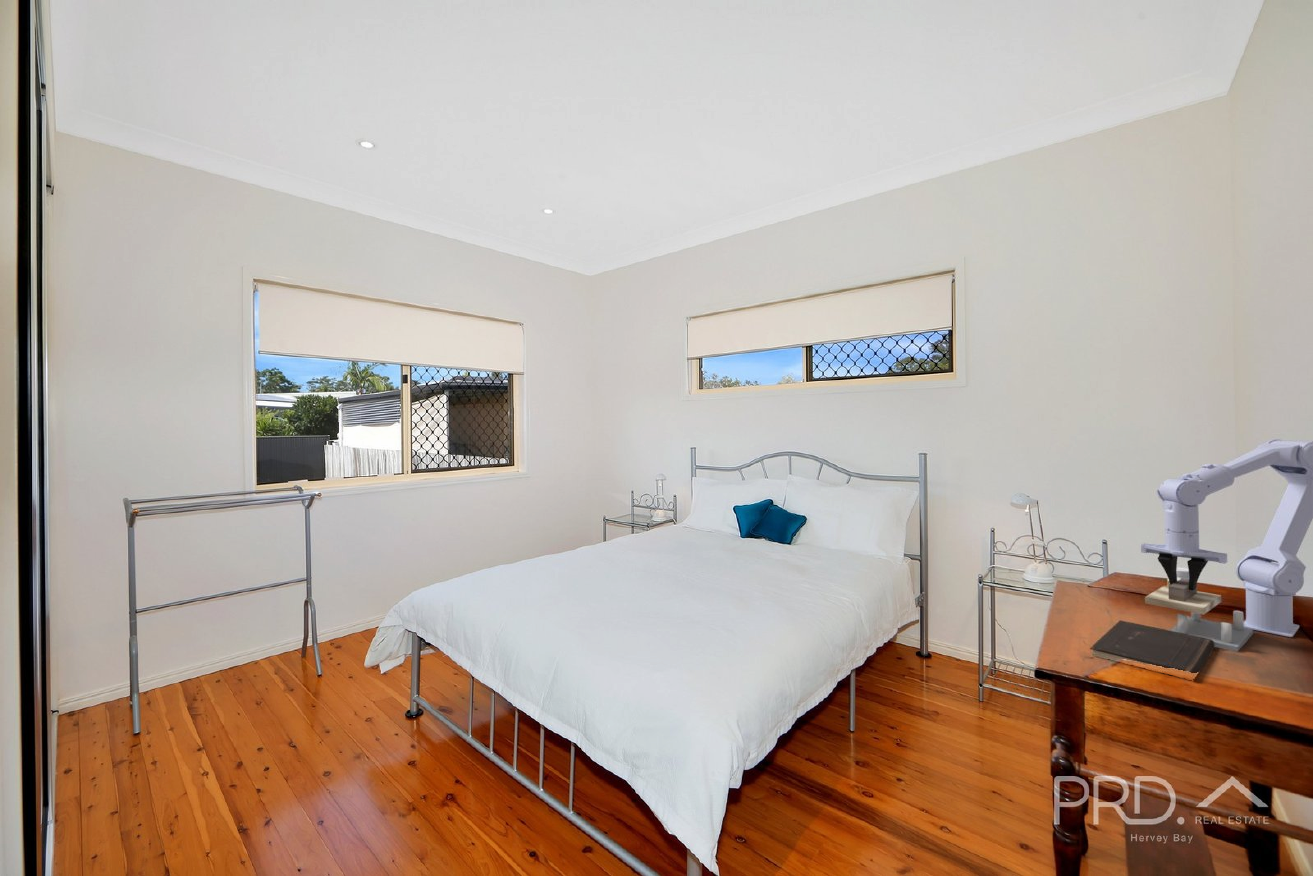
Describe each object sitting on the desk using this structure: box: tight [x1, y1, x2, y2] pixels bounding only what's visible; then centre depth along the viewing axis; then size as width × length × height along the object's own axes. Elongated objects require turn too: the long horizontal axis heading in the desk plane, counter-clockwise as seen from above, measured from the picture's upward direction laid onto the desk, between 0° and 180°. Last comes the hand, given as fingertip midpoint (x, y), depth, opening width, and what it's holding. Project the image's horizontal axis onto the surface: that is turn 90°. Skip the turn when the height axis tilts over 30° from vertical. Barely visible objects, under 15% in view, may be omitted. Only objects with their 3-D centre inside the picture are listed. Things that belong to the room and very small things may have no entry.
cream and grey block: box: [1144, 578, 1222, 616], centre depth 128 cm, size 14×10×4 cm
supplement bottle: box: [1166, 566, 1189, 586], centre depth 142 cm, size 5×5×10 cm
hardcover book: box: [1089, 620, 1215, 673], centre depth 117 cm, size 16×23×2 cm
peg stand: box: [1169, 610, 1254, 652], centre depth 124 cm, size 15×11×5 cm
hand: (1183, 587), depth 128 cm, fingers open, 3 cm apart
